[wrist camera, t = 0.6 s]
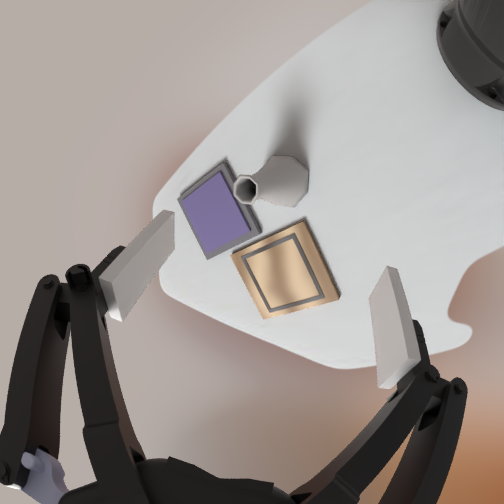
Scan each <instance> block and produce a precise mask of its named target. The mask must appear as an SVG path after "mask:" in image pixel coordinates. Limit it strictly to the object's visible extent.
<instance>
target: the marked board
mask: <svg viewBox="0 0 504 504" xmlns="http://www.w3.org/2000/svg"><path fill="white" fill-rule="evenodd" d="M230 256H231V258H232V260H233V262H234V264H235V266H236V268H237V270H238V272H239V274H240V276H241V278H242V279H243V281H244V283H245V285H246V287H247V289H248V291H249V293H250V295H251V297H252V299H253V301H254V303H255V304H256V306H257V308H258V310H259V312H260V314H261V316H262V318H263V319H267V318H271V317H275V316H279V315H283V314H287V313H291V312H295V311H299V310H303V309H307V308H311V307H314V306H318V305H322V304H325V303H329V302H332V301H336V300H339V298H340V297H339V294H338V292H337V290H336V287H335V285H334V283H333V281H332V278H331V276H330V274H329V272H328V269H327V267H326V265H325V263H324V261H323V258H322V256H321V254H320V252H319V250H318V248H317V246H316V243H315V241H314V239H313V237H312V235H311V233H310V231H309V229H308V227H307V225H306V223H305V221H303V222H301V223H298V224H296V225H294V226H292V227H290V228H288V229H285V230H283V231H281V232H279V233H277V234H275V235H273V236H270V237H268V238H266V239H264V240H262V241H260V242H258V243H255V244H253V245H251V246H249V247H247V248H245V249H243V250H240V251H238V252H236V253H234V254H232V255H230Z"/></svg>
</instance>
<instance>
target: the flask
mask: <svg viewBox="0 0 504 504" xmlns="http://www.w3.org/2000/svg"><path fill="white" fill-rule="evenodd" d="M308 172H309V171H308V170H307V169H306V168H305V167H304V166H303V165H301V164H300V163H299V162H298V161H297V160H296V159H295V158H294V157H291V156H275V155H273V156H272V157H271V158H270V159H269V160H268V162H267V163H266V164H265V165H264V166H263V167H262V168H261V169H260V170H259V171H258V172H257V173H255V174H253V175H239V177H238V178H237V180H236V181H235V182H234V196H235V197H236V198H237V199H238V200H239V201H240V202H241V203H243V204H250V205H253V204H254V202H255V201H256V200H259V199H263V200H265V201H268V202H270V203H272V204H275V205H280V206H287V207H295V206H296V205H297V204H298V203H299V202H300V200H301V199H302V198H303V197H304V196H305V195H306V193H307V190H308Z"/></svg>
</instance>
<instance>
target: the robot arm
mask: <svg viewBox="0 0 504 504" xmlns="http://www.w3.org/2000/svg"><path fill="white" fill-rule="evenodd" d="M437 43H438V47H439V50H440V53H441V55H442V58H443V60H444V62H445V64H446V65H447V67H448V69H449V70H450V72H451V73H452V74H453V76H454V77H455V78H456V79H457V81H458V82H459V83H460V84H461V85H462V86H463V87H464V88H465V89H466V90H467V91H468V92H469V93H470V94H472V95H473V96H474V97H475V98H477V99H478V100H480V101H481V102H483V103H485V104H486V105H488V106H490V107H493V108H495V109H498V110H502V111H504V0H454V1H453V2H452V3H450V4H449V5H448V6H446V7H445V8H444V9H443V11H442V12H441V14H440V16H439V20H438V25H437ZM174 249H175V241H174V212H172V211H167V210H163V211H162V212H160V213H159V214H158V215H157V216H156V217H155V218H154V219H153V220H152V221H151V222H150V223H149V224H148V225H147V226H146V227H145V228H144V229H143V230H142V231H141V232H140V233H139V234H138V235H137V236H136V237H135V239H134V240H133V241H132V242H131V243H130V244H129V245H128V246H127V247H124V246H119V247H117V248H115V249H113V250H112V251H111V252H110V253H109V254H108V255H107V257H105V258H104V259H103V261H102V262H101V263H100V264H99V265H98V266H97V267H96V268H95V269H94V270H93V271H92V272H90V268H89V267H88V266H87V265H85V264H77V265H74V266H72V267H71V268H69V269H68V270H67V272H66V274H65V277H66V280H67V282H68V283H60V281H59V279H58V277H57V276H56V275H53V274H50V275H47V276H44V277H43V278H42V279H41V280H40V281H39V283H38V285H37V287H36V290H35V293H34V295H33V298H32V301H31V304H30V307H29V309H28V312H27V315H26V319H25V322H24V325H23V328H22V332H21V335H20V339H19V342H18V346H17V350H16V354H15V358H14V363H13V367H12V372H11V378H10V383H9V389H8V395H7V403H6V411H5V422H4V426H3V429H2V431H1V434H0V483H2V484H4V485H6V486H9V487H12V488H15V489H19V490H22V491H24V492H25V493H26V494H28V495H29V496H31V497H32V498H33V499H35V500H36V501H38V502H39V503H41V504H357V503H358V502H359V500H360V498H359V496H360V494H361V493H362V491H363V490H364V489H365V488H366V487H367V486H368V485H369V484H370V483H371V482H372V481H373V479H374V478H375V477H376V476H377V475H378V474H379V472H380V471H381V470H382V469H383V468H384V466H385V465H386V464H387V463H388V461H389V460H390V459H391V457H392V456H393V455H394V454H395V452H396V451H397V450H398V448H399V447H400V446H401V444H402V443H403V441H404V440H405V439H406V437H407V436H408V434H409V433H410V431H411V430H412V428H413V427H414V429H413V432H412V434H411V437H410V440H409V442H408V444H407V447H406V449H405V452H404V454H403V456H402V459H401V461H400V463H399V465H398V467H397V470H396V471H395V473H394V476H393V478H392V479H391V482H390V483H389V485H388V487H387V489H386V491H385V493H384V495H383V496H382V498H381V500H380V502H379V503H378V504H436V503H437V501H438V499H439V496H440V494H441V491H442V489H443V486H444V484H445V481H446V478H447V475H448V472H449V470H450V466H451V463H452V460H453V457H454V453H455V450H456V446H457V443H458V439H459V435H460V430H461V426H462V421H463V416H464V411H465V405H466V399H467V393H468V392H467V386H466V384H465V382H464V381H463V380H462V379H461V378H458V377H457V378H454V379H453V380H452V381H450V382H449V381H447V380H445V379H442V378H440V374H439V372H438V370H437V369H436V368H435V367H434V366H433V365H431V364H430V359H429V355H428V350H427V346H426V343H425V338H424V334H423V330H422V327H421V326H420V324H419V322H418V321H417V320H413V319H412V318H411V314H410V310H409V306H408V303H407V299H406V296H405V292H404V289H403V286H402V283H401V279H400V276H399V273H398V270H397V269H396V268H393V267H389V266H386V268H385V270H384V272H383V273H382V275H381V277H380V279H379V281H378V283H377V284H376V286H375V288H374V290H373V291H372V293H371V295H370V297H369V304H370V311H371V318H372V326H373V334H374V343H375V353H376V364H377V378H378V388H387V389H391V388H392V387H393V386H394V385H395V384H396V383H397V390H396V391H395V392H394V393H393V394H392V395H391V396H389V397H388V398H387V400H388V401H387V402H386V403H385V405H384V406H383V407H382V408H381V410H380V411H379V412H378V413H377V414H376V416H375V417H374V418H373V419H372V420H371V421H370V423H369V424H368V425H367V426H366V427H365V428H364V429H363V430H362V431H361V432H360V433H359V435H358V436H357V437H356V438H355V439H354V440H353V441H352V442H351V443H350V444H349V445H348V446H347V447H346V448H345V449H344V450H343V451H342V452H341V453H340V454H339V455H338V456H337V457H336V458H335V459H334V460H332V461H331V462H330V463H329V464H328V465H327V466H326V467H325V468H324V469H323V470H321V471H320V472H319V473H318V474H317V475H316V476H314V478H312V479H311V480H310V481H308V482H307V483H305V484H303V485H302V486H300V487H298V488H297V489H296V490H294V491H293V492H291V493H290V494H289V495H288V494H287V493H285V492H284V491H282V490H280V489H279V488H277V487H274V483H271V482H264V481H259V480H253V479H222V478H217V477H215V476H214V475H212V474H210V473H208V472H206V471H204V470H202V469H201V468H199V467H197V466H195V465H193V464H190V463H187V462H184V461H181V460H178V459H175V458H172V457H170V456H169V458H168V459H162V458H157V459H149V460H147V459H146V457H145V455H144V452H143V450H142V447H141V445H140V443H139V442H138V440H137V438H136V435H135V433H134V430H133V427H132V424H131V421H130V418H129V415H128V412H127V409H126V405H125V402H124V399H123V396H122V392H121V388H120V384H119V381H118V377H117V372H116V368H115V364H114V360H113V355H112V351H111V346H110V341H109V335H108V330H107V324H106V318H105V316H104V315H105V313H106V312H107V311H109V313H110V317H111V318H114V319H116V320H118V321H121V322H123V321H124V319H125V318H126V316H127V315H128V313H129V312H130V310H131V309H132V308H133V306H134V305H135V303H136V302H137V300H138V299H139V297H140V296H141V294H142V293H143V292H144V290H145V289H146V287H147V286H148V284H149V283H150V282H151V280H152V279H153V278H154V276H155V275H156V273H157V272H158V271H159V269H160V268H161V266H162V265H163V264H164V262H165V261H166V260H167V258H168V257H169V256H170V254H171V253H172V252H173V250H174ZM70 331H71V338H72V349H73V359H74V367H75V374H76V381H77V387H78V393H79V398H80V404H81V408H82V413H83V417H84V423H85V426H84V428H83V437H84V441H85V445H86V449H87V451H88V455H89V459H90V462H91V465H92V468H93V471H94V474H95V476H96V479H97V481H95V482H93V483H90V484H88V485H85V486H82V487H79V488H77V489H74V490H71V491H69V490H68V489H67V487H66V485H65V483H64V480H63V478H64V476H65V473H64V470H63V469H62V466H61V464H60V463H59V461H58V454H59V445H60V412H61V396H62V385H63V376H64V368H65V360H66V354H67V347H68V341H69V336H70ZM414 425H415V426H414Z"/></svg>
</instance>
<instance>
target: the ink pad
mask: <svg viewBox="0 0 504 504" xmlns="http://www.w3.org/2000/svg"><path fill="white" fill-rule="evenodd" d="M234 182H235V179H234V177H233V175H232V173H231V171H230V169H229V167H228V165H227V163H226V162H225V163H222V164H221V165H219V166H218V167H217V168H215V169H214V170H213V171H211V172H210V173H209V174H207V175H206V176H205V177H204V178H202V179H201V180H200V181H199V182H197V183H196V184H195V185H194V186H192V187H191V188H190V189H189V190H187V191H186V192H185V193H184V194H182V195H181V196H180V197H179V198H178V199H177V200H178V202H179V204H180V206H181V208H182V210H183V212H184V214H185V216H186V218H187V221H188V223H189V225H190V227H191V229H192V231H193V233H194V235H195V237H196V239H197V241H198V243H199V245H200V247H201V249H202V251H203V253H204V255H205V257H206V259H207V260H208V259H210V258H212V257H214V256H216V255H218V254H220V253H222V252H224V251H226V250H228V249H230V248H232V247H235V246H237V245H239V244H241V243H243V242H245V241H247V240H249V239H251V238H253V237H255V236H257V235H259V234H261V233H262V232H261V230H260V228H259V226H258V224H257V222H256V220H255V218H254V216H253V214H252V212H251V210H250V208H249V206H248V204H243V203H241V202H240V201H239V200H238V199H237V198H236V197H235V196H234Z"/></svg>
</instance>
